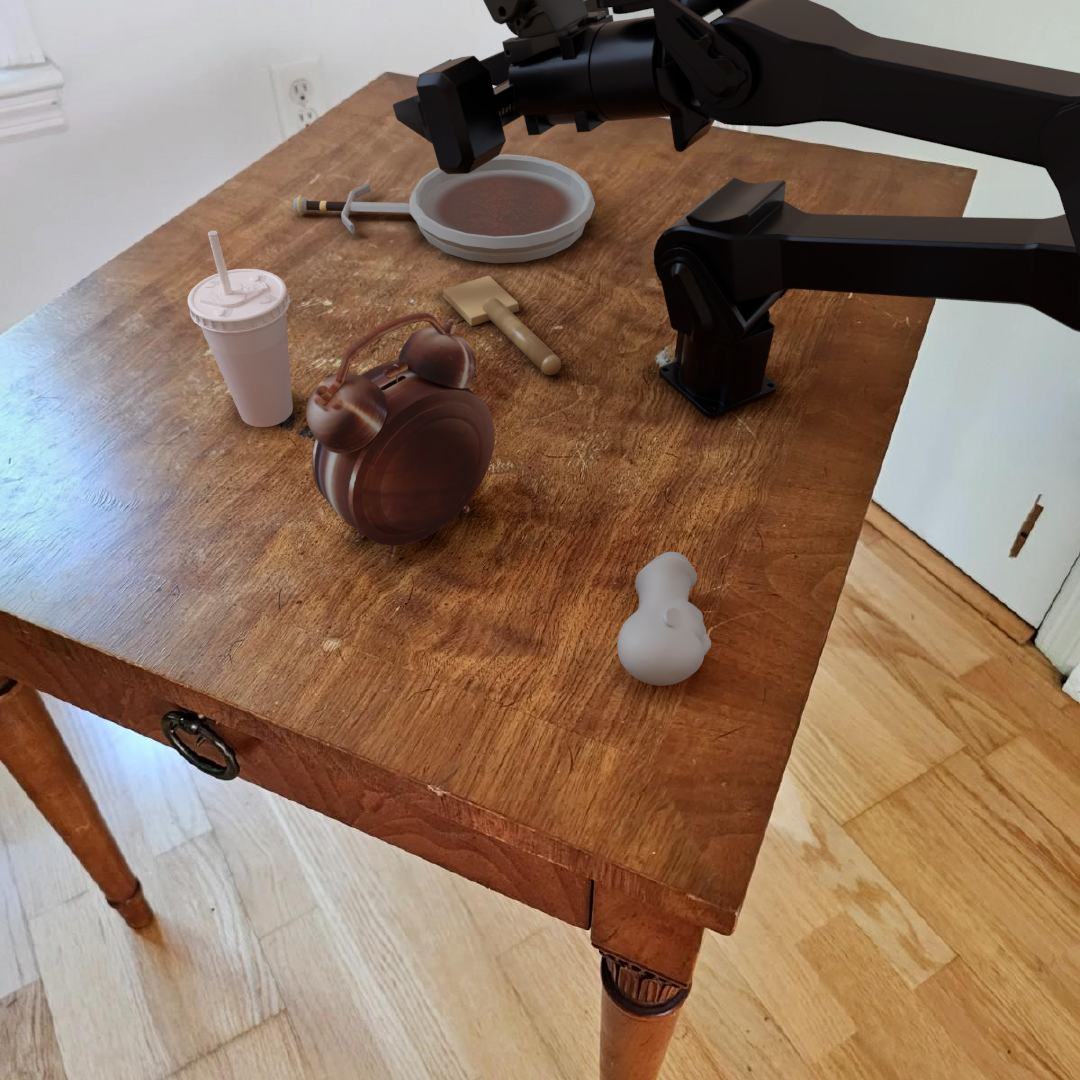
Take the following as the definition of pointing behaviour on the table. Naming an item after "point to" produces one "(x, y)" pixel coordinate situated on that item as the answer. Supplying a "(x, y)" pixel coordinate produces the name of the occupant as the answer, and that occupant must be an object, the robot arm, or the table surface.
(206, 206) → the table surface
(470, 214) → the frying pan
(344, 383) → the alarm clock
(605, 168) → the table surface
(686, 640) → the smooth white sculpture
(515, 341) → the spatula
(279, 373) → the smoothie
